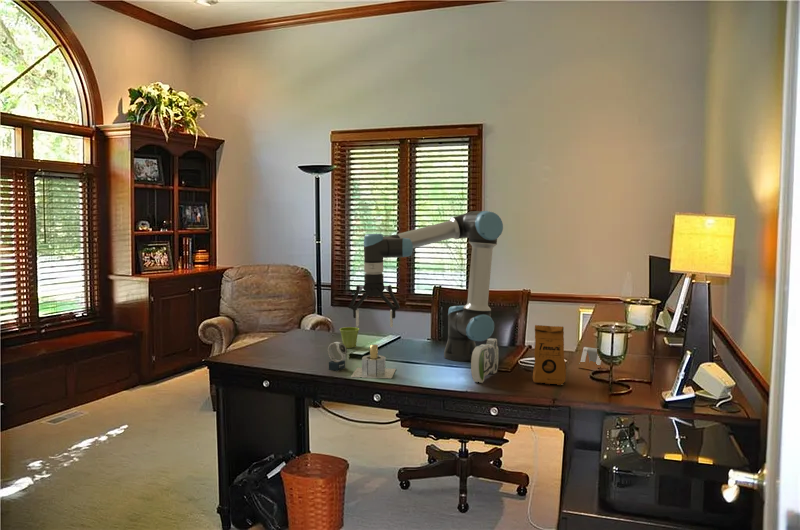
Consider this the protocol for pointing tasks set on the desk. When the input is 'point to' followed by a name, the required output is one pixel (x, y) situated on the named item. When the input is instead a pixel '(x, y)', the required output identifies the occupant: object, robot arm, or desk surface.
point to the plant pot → (349, 336)
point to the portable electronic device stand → (590, 355)
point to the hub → (373, 365)
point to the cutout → (484, 360)
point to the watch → (336, 364)
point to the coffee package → (549, 355)
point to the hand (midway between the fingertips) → (374, 326)
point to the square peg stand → (388, 374)
